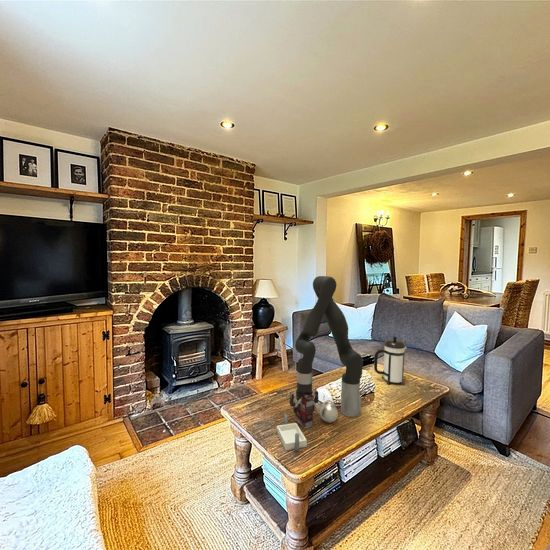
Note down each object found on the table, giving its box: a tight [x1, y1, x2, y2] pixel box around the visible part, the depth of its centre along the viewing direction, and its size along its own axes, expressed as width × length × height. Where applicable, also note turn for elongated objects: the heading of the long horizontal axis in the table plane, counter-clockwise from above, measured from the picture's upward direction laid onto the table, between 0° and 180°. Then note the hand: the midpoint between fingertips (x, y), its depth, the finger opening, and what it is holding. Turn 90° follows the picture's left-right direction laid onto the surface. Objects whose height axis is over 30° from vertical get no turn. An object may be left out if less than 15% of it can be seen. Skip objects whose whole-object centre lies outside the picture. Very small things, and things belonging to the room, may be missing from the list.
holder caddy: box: [276, 413, 308, 452], centre depth 136 cm, size 10×17×7 cm, turn 16°
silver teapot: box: [319, 399, 339, 423], centre depth 150 cm, size 9×10×10 cm
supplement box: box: [294, 389, 314, 430], centre depth 148 cm, size 9×5×16 cm, turn 31°
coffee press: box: [373, 335, 407, 386], centre depth 195 cm, size 17×16×30 cm
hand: (303, 412), depth 148 cm, fingers open, 8 cm apart
